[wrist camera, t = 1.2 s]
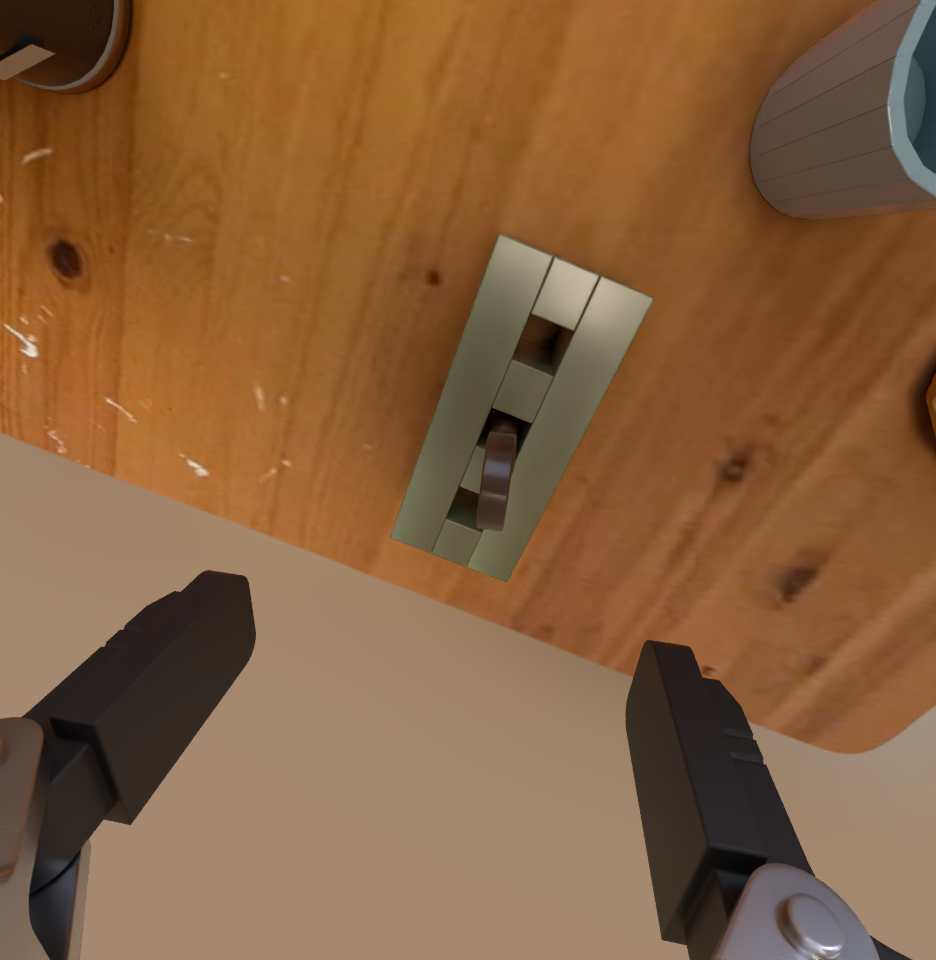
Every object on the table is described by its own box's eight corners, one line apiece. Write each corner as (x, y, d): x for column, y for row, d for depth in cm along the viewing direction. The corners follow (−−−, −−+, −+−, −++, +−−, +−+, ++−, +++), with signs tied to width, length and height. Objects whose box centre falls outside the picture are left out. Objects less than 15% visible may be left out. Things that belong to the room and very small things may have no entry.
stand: (412, 491, 34) (389, 538, 29) (506, 234, 27) (498, 232, 21) (511, 530, 35) (507, 582, 29) (631, 287, 27) (655, 298, 22)
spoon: (515, 433, 31) (504, 551, 19) (494, 430, 32) (468, 546, 19) (524, 370, 30) (518, 458, 18) (501, 367, 30) (479, 452, 18)
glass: (724, 203, 25) (840, 179, 15) (792, 16, 22) (992, -159, 12) (869, 232, 25) (1075, 226, 15) (960, 47, 21) (1293, -106, 12)
